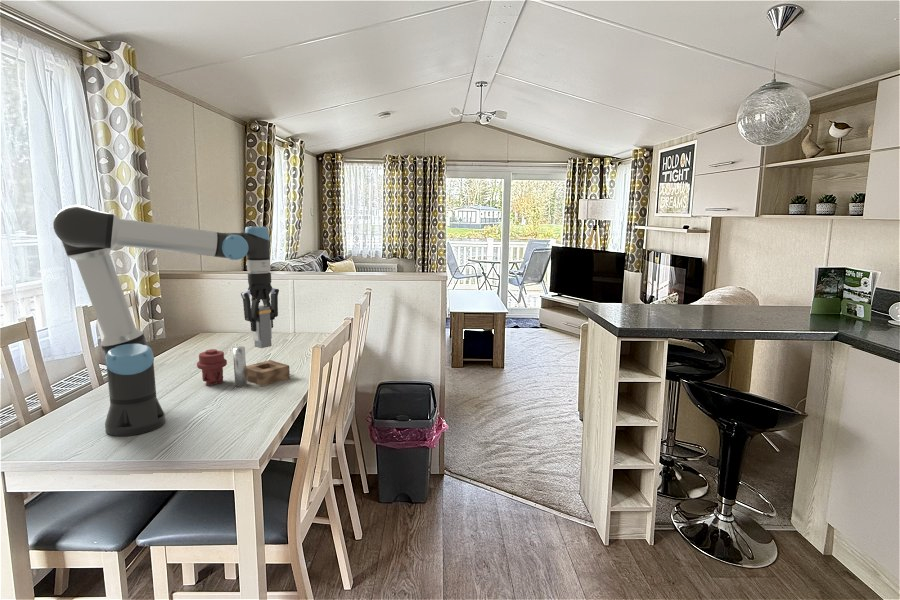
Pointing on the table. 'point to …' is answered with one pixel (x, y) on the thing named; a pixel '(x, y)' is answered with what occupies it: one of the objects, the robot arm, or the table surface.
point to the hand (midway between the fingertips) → (262, 338)
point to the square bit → (264, 327)
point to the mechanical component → (212, 366)
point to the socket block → (267, 372)
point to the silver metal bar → (239, 366)
